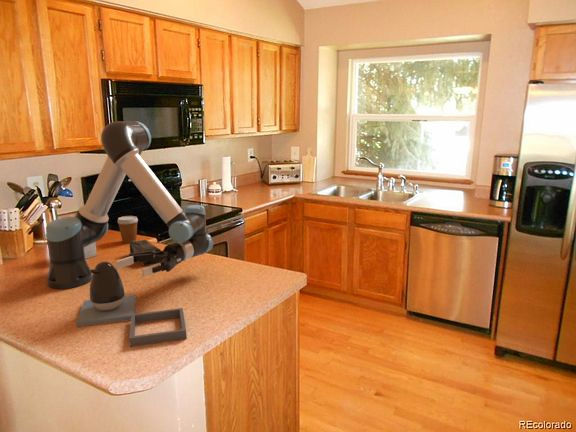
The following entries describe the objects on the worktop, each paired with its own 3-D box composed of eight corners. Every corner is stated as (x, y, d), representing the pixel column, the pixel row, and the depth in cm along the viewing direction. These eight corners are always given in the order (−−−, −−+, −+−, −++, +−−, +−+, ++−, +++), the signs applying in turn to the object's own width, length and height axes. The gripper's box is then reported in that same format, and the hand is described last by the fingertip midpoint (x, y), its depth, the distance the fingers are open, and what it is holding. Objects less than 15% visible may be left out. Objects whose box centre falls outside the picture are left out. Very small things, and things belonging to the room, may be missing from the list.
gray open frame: (130, 346, 118) (129, 338, 117) (132, 322, 132) (131, 314, 131) (186, 338, 122) (186, 330, 122) (182, 315, 136) (182, 307, 136)
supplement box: (78, 261, 186) (74, 227, 182) (66, 257, 190) (62, 224, 187) (97, 255, 193) (94, 222, 190) (85, 252, 198) (81, 220, 194)
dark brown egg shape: (83, 311, 135) (77, 265, 132) (107, 298, 145) (103, 255, 141) (109, 317, 132) (104, 269, 128) (132, 303, 141) (128, 258, 138)
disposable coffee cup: (135, 244, 209) (133, 220, 206) (116, 244, 209) (113, 220, 206) (142, 238, 218) (140, 215, 216) (123, 238, 218) (121, 215, 216)
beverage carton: (147, 251, 199) (146, 237, 198) (162, 263, 184) (161, 248, 183) (129, 254, 195) (128, 240, 193) (143, 267, 180) (142, 251, 178)
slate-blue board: (77, 327, 129) (76, 322, 128) (84, 304, 144) (84, 300, 143) (134, 319, 133) (133, 315, 133) (135, 298, 148) (135, 294, 148)
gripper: (203, 268, 155) (155, 287, 138) (156, 255, 168) (107, 272, 151) (202, 248, 153) (154, 265, 136) (154, 237, 166) (105, 251, 149)
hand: (129, 269), depth 143 cm, fingers open, 13 cm apart
